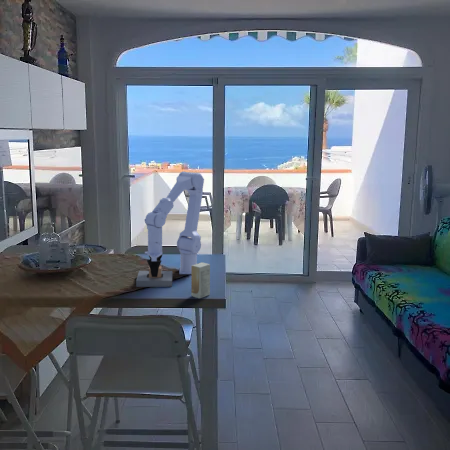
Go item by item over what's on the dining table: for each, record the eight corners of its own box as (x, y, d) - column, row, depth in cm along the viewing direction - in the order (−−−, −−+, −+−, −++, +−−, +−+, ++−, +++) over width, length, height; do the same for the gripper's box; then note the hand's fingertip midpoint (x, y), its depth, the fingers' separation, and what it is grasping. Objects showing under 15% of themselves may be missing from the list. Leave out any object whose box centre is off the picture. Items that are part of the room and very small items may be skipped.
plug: (149, 280, 200) (149, 262, 199) (161, 280, 201) (161, 262, 200) (148, 283, 196) (148, 265, 195) (161, 283, 197) (161, 265, 196)
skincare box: (201, 292, 186) (202, 261, 184) (210, 294, 184) (211, 263, 182) (190, 296, 182) (190, 264, 179) (198, 299, 179) (199, 267, 177)
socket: (139, 276, 205) (139, 270, 204) (172, 276, 206) (172, 270, 206) (136, 286, 191) (136, 280, 191) (171, 286, 192) (171, 280, 192)
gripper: (146, 237, 202) (146, 269, 205) (143, 245, 188) (143, 279, 191) (163, 237, 203) (163, 269, 205) (161, 245, 189) (161, 279, 191)
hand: (155, 273), depth 198 cm, fingers open, 7 cm apart
